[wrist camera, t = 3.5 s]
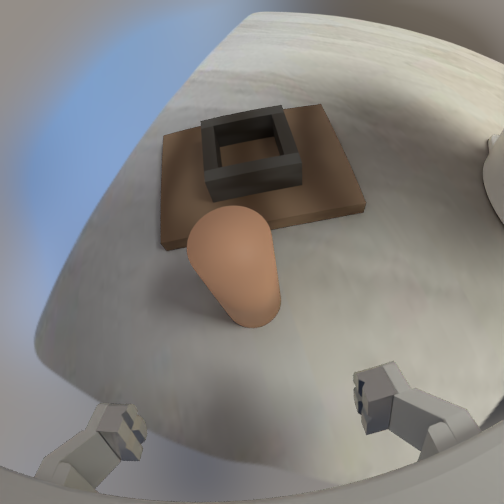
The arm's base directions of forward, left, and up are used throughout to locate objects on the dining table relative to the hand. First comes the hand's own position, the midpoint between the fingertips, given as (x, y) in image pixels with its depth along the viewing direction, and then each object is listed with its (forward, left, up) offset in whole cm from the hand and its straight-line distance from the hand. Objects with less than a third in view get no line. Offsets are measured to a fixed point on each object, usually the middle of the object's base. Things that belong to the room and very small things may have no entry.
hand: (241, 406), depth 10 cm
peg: (0, -8, -12) cm, 15 cm away
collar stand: (-2, -21, -12) cm, 24 cm away
